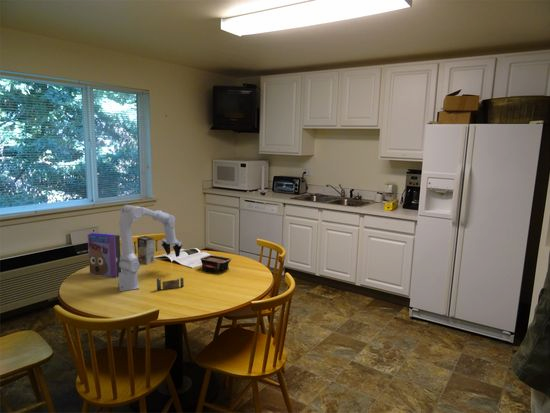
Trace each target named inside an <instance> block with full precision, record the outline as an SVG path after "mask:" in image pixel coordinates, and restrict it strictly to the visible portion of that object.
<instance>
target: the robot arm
mask: <svg viewBox="0 0 550 413" xmlns="http://www.w3.org/2000/svg"><path fill="white" fill-rule="evenodd" d="M144 215H145V216H148V217H151V218H152V219H153V220H154V221H157V222H159V223H161V224H163V229H164V235H165V236H164V237H165V238H162V239H161V246H162V247H163V250H164V251H165V253H166V255H171V245H173V246H172V249H173V251H174V253H175V254H174V256H175V258H178V257H180V256H181V255H180V254H181V249H182V247H183V244H182V241H179V240H178V239H177V236H176V231H175V226H176V225H175V223H176V217H175V216H174V215H173V214H169V213H168V212H166V211H165V212H164V211H162V209H156V210H151V209H149V208H146V207H143V206H139V205H138V206H136V205H129V204H125V205H123V206H122V208H121V209H120V217H119V221H118V225H119V236H120V245H121V250H122V251H121V252H122V255H121V257H120V263H119V267H120V268H121V272H120V273H119V277H118V285H117V286H118V287H119V292H124V291H131V290H132V291H134V290H138V289H140V286H139V283H138V271H139V269H140V267H141V265H140V262H138V256H137V255H136V254H135V250H134V242H133V234H132V232H133V231H132V227H131V226H132V224H134V222H136V221H138V220H139V219H140V218H141V217H143V216H144Z"/></svg>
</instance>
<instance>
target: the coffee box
mask: <svg viewBox="0 0 550 413" xmlns="http://www.w3.org/2000/svg"><path fill="white" fill-rule="evenodd" d="M137 259H138V262H139V263H142V264H144V265H150V264H153V263H155V239H154V237H150V236H147V235H144V236H140V237H137Z"/></svg>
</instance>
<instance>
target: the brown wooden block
mask: <svg viewBox="0 0 550 413" xmlns="http://www.w3.org/2000/svg"><path fill="white" fill-rule="evenodd" d="M161 281H162V280H161ZM161 286H162V290H169V289H176V288H180V278H176V279H171V280H163V281H162V282H161Z"/></svg>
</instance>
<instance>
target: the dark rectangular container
mask: <svg viewBox="0 0 550 413" xmlns="http://www.w3.org/2000/svg"><path fill="white" fill-rule="evenodd" d="M199 259H200V261H201V271H202V272H207V273H214V274H215V273H216V274H218V273H219V272H220V270H225V269H229V270H230V267H229V265H230V262H231V261H232V258H231V257H227V256H226V257H224V256H219V255H213V254H210V255H206V256H203V257H201V258H199Z"/></svg>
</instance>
